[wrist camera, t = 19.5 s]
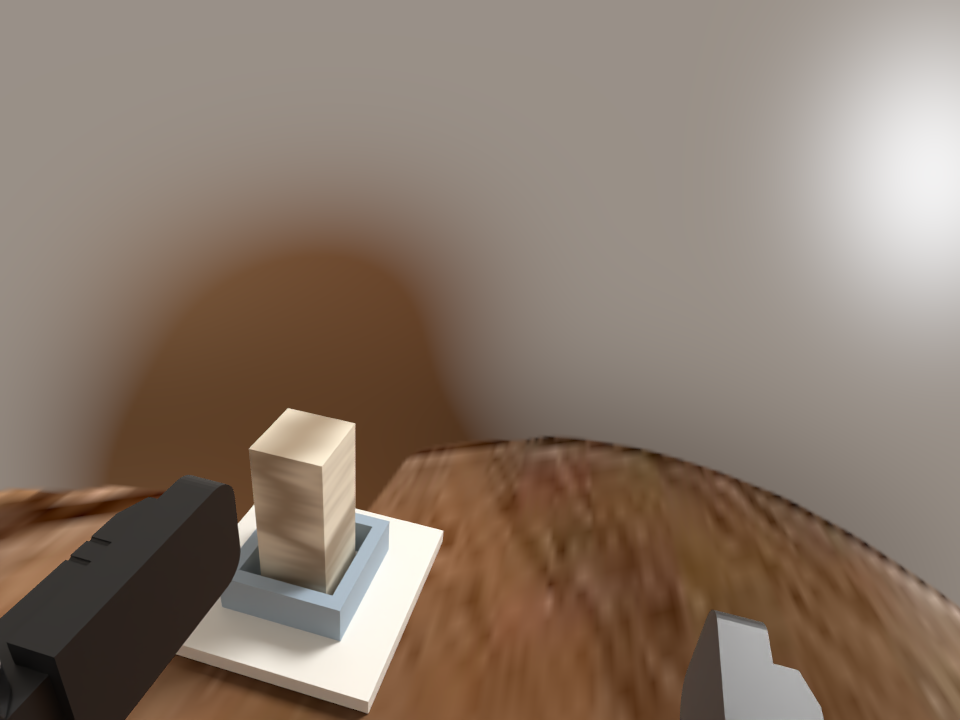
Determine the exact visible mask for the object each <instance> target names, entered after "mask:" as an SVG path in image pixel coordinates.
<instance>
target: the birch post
mask: <svg viewBox="0 0 960 720" xmlns="http://www.w3.org/2000/svg"><path fill="white" fill-rule="evenodd" d="M249 454H250V465H251V476H252V486H253V496H254V507H255V517H256V527H257V538H258V548H259V558H260V568H261V576H264V577H267V578H271V579H274V580H278V581H282V582H285V583H289V584H292V585H296V586H300V587H303V588H307V589H310V590H314V591H318V592H321V593H325V594H328V595H332V596H333V594H334V592H335V590H336V589H337V587H338V585H339V584H340V582H341V580H342V578H343V577H344V575H345V573H346V572H347V570H348V568H349V566H350V565H351V563H352V561H353V560H354V558H355V423H351V422H346V421H342V420H337V419H333V418H329V417H324V416H320V415H315V414H311V413H307V412H302V411H298V410H293V409H289V408H288V409H287V410H286V411H285V412H284V413H283V414H282V415H281V416H280V417H279V418H278V419H277V420H276V421H275V422H274V423H273V425H271V427H270V428H269V429H268V430H267V431H266V432H265V433H264V434H263V435H262V436H261V437H260V438H259V439H258V440H257V441H256V442H255V443H254V444H253V445H252V446H251V447H250V448H249Z"/></svg>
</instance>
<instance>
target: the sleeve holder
mask: <svg viewBox="0 0 960 720" xmlns="http://www.w3.org/2000/svg"><path fill="white" fill-rule="evenodd" d="M238 530H239V539H240V549H241V553H240V560H239V564H238V567H237V570H236V573H235V575H234V577H233V579H232V581H231V583H230V584H229V586H228V587H227V588H226V590H225V591H224V592H223V594H222V595H221V596H220V598H219V599H218V600H217V601H216V603H215V604H214V605H213V607H212V608H211V609H210V610H209V612H208V613H207V614H206V616H205V617H204V618H203V620H202V621H201V622H200V623H199V625H198V626H197V627H196V629H195V630H194V631H193V632H192V634H191V635H190V636H189V638H188V639H187V640H186V641H185V643H184V644H183V645H182V647H181V648H180V649H179V651H178V652H177V653H176V654H177V655H180V656H183V657H186V658H190V659H193V660H196V661H199V662H203V663H206V664H209V665H212V666H215V667H219V668H222V669H225V670H228V671H232V672H235V673H238V674H241V675H245V676H248V677H251V678H254V679H258V680H261V681H264V682H267V683H270V684H274V685H277V686H280V687H283V688H287V689H290V690H293V691H296V692H300V693H303V694H306V695H309V696H313V697H316V698H319V699H322V700H325V701H329V702H332V703H335V704H338V705H342V706H345V707H348V708H351V709H355V710H358V711H361V712H364V713H369V711H370V708H371V706H372V704H373V701H374V699H375V697H376V694H377V692H378V690H379V687H380V685H381V683H382V680H383V678H384V676H385V674H386V671H387V669H388V667H389V664H390V662H391V660H392V657H393V655H394V653H395V650H396V648H397V646H398V643H399V641H400V639H401V636H402V634H403V632H404V629H405V627H406V625H407V623H408V620H409V618H410V616H411V613H412V611H413V609H414V606H415V604H416V602H417V599H418V597H419V595H420V592H421V590H422V588H423V585H424V583H425V581H426V578H427V576H428V574H429V572H430V569H431V567H432V565H433V562H434V560H435V558H436V555H437V553H438V551H439V548H440V546H441V544H442V541H443V531H442V530H438V529H434V528H430V527H426V526H422V525H418V524H414V523H410V522H406V521H402V520H398V519H394V518H390V517H387V516H383V515H379V514H375V513H371V512H367V511H363V510H358V509H355V558H354V560H353V561H352V563H351V565H350V566H349V568H348V570H347V572H346V573H345V575H344V577H343V578H342V580H341V582H340V584H339V585H338V587H337V589H336V590H335V592H334V594H333V596H332V595H328V594H325V593H321V592H318V591H314V590H310V589H307V588H303V587H300V586H296V585H292V584H289V583H285V582H282V581H278V580H274V579H271V578H267V577H264V576H261V568H260V558H259V548H258V538H257V527H256V517H255V507H254V505H253V507H252V508H251V509H250V510H249V511H248V513H247V514H246V515H245V516H244V517H243V518H242V520H241V521H240V522H239V523H238Z"/></svg>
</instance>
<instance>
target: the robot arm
mask: <svg viewBox="0 0 960 720" xmlns="http://www.w3.org/2000/svg"><path fill="white" fill-rule="evenodd" d="M240 553H241V549H240V539H239V530H238V522H237V513H236V504H235V496H234V491H233V489H232V487H231V486H229V485H226V484H223V483H219V482H215V481H211V480H207V479H203V478H199V477H196V476H191V475H186V476H183V477H181V478H180V479H179V480H177V481H176V482H175V483H174V484H173V485H172V486H171V487H170V488H169V489H168V490H167V491H166V492H165V493H163V494H162V495H161V496H160V497H159V498H158V499H155V498H151V497H148V498H146V499H144V500H142V501H140V502H138V503H136V504H135V505H133V506H131V507H129V508H127V509H125V510H123V511H121V512H119V513H117V514H116V515H115V516H114V517H113V518H111V519H110V520H109V521H108V522H107V523H106V524H105V525H104V526H103V527H101V528H100V529H99V530H98V531H97V532H96V533H95V534H94V535H93V536H92V538H91V540H90V541H86V542H85V543H84V544H83V545H81V546H80V547H79V548H78V549H77V550H76V551H75V552H74V553H73V554H71V557H70V559H69V560H68V561H67V560H65V561H64V562H63V563H61V564H60V565H59V566H58V567H57V568H56V569H55V570H54V571H53V572H51V573H50V574H49V575H48V576H47V577H46V578H45V579H44V580H43V581H41V582H40V583H39V584H38V585H37V586H36V587H35V588H34V589H33V590H31V591H30V592H29V593H28V594H27V595H26V596H25V597H24V598H23V599H21V600H20V601H19V602H18V603H17V604H16V605H15V606H14V607H13V608H11V609H10V610H9V611H8V612H7V613H6V614H5V615H4V616H3V617H1V618H0V720H125V719H126V718H127V716H128V715H129V714H130V713H131V711H132V710H133V709H134V707H135V706H136V705H137V704H138V702H139V701H140V700H141V698H142V697H143V696H144V694H145V693H146V692H147V691H148V689H149V688H150V687H151V685H152V684H153V683H154V682H155V680H156V679H157V678H158V676H159V675H160V674H161V673H162V671H163V670H164V669H165V667H166V666H167V665H168V663H169V662H170V661H171V660H172V658H173V657H174V656H175V654H176V653H177V652H178V651H179V649H180V648H181V647H182V645H183V644H184V643H185V641H186V640H187V639H188V638H189V636H190V635H191V634H192V632H193V631H194V630H195V629H196V627H197V626H198V625H199V623H200V622H201V621H202V620H203V618H204V617H205V616H206V614H207V613H208V612H209V610H210V609H211V608H212V607H213V605H214V604H215V603H216V601H217V600H218V599H219V598H220V596H221V595H222V594H223V592H224V591H225V590H226V588H227V587H228V586H229V584H230V583H231V581H232V579H233V577H234V575H235V573H236V570H237V567H238V564H239V560H240ZM680 720H824V719H823V714H822V710H821V707H820V705H819V703H818V702H817V700H816V698H815V697H814V695H813V694H812V692H811V690H810V689H809V687H808V685H807V684H806V682H805V680H804V679H803V677H802V676H801V674H800V672H799V671H798V670H795V669H791V668H787V667H784V666H780V665H776V664H773V661H772V655H771V649H770V643H769V636H768V631H767V628H766V626H765V624H764V623H763V622H759V621H755V620H751V619H747V618H743V617H739V616H735V615H731V614H727V613H723V612H719V611H715V610H711V611H710V612H709V614H708V616H707V619H706V621H705V624H704V627H703V629H702V632H701V635H700V637H699V640H698V643H697V645H696V648H695V651H694V653H693V656H692V659H691V662H690V664H689V667H688V670H687V672H686V676H685V680H684V684H683V690H682V697H681V707H680Z"/></svg>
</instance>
